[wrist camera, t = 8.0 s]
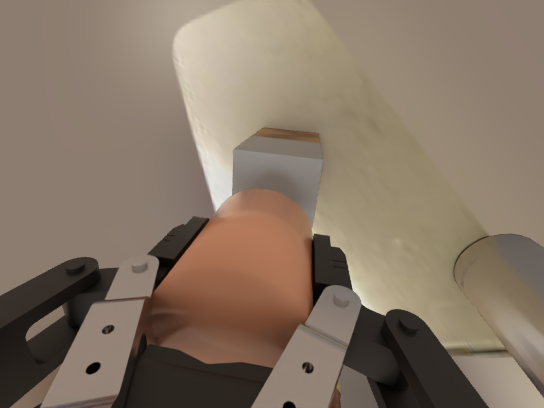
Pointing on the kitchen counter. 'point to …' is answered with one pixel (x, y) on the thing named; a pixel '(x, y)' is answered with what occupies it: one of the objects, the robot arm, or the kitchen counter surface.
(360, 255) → the kitchen counter surface
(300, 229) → the clay cylinder
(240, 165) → the slate block
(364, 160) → the kitchen counter surface
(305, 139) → the walnut block
